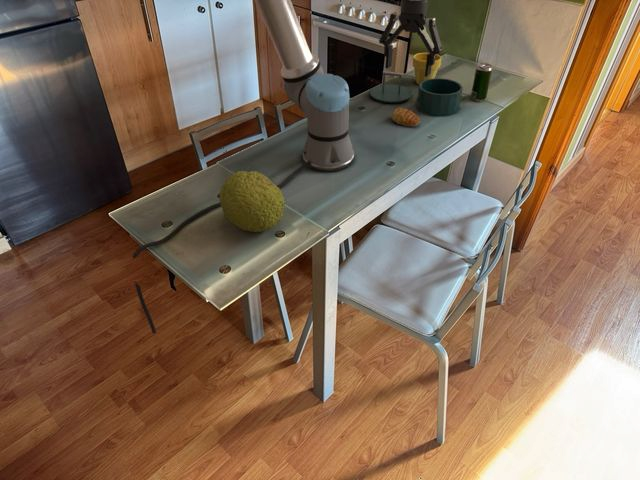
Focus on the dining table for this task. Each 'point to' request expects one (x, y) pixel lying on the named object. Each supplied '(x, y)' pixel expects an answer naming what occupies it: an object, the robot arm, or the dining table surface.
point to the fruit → (251, 201)
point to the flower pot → (424, 67)
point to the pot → (439, 97)
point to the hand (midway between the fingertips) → (407, 71)
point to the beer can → (481, 82)
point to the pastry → (405, 117)
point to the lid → (391, 91)
